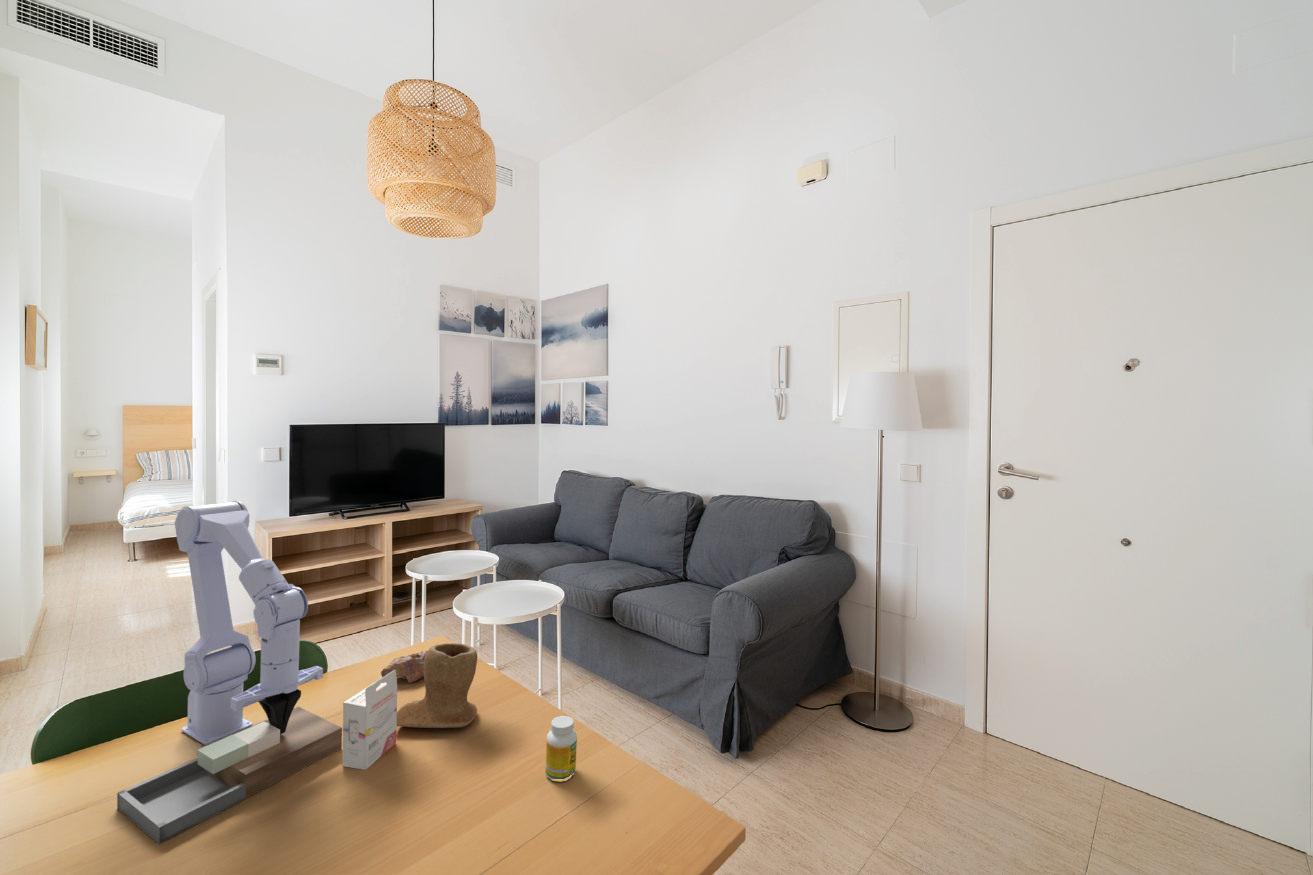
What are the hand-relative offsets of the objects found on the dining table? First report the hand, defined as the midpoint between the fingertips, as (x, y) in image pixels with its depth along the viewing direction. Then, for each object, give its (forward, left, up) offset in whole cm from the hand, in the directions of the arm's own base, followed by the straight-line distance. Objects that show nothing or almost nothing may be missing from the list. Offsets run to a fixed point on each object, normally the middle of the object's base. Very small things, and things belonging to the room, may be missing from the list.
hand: (278, 732), depth 100 cm
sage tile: (0, -9, -1) cm, 9 cm away
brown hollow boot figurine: (+14, +24, -5) cm, 28 cm away
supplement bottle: (+46, +23, -5) cm, 52 cm away
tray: (0, -14, -5) cm, 15 cm away
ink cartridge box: (+13, +9, -5) cm, 16 cm away
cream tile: (0, -4, -1) cm, 4 cm away
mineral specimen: (-6, +33, -5) cm, 34 cm away
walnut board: (0, -1, -5) cm, 5 cm away
